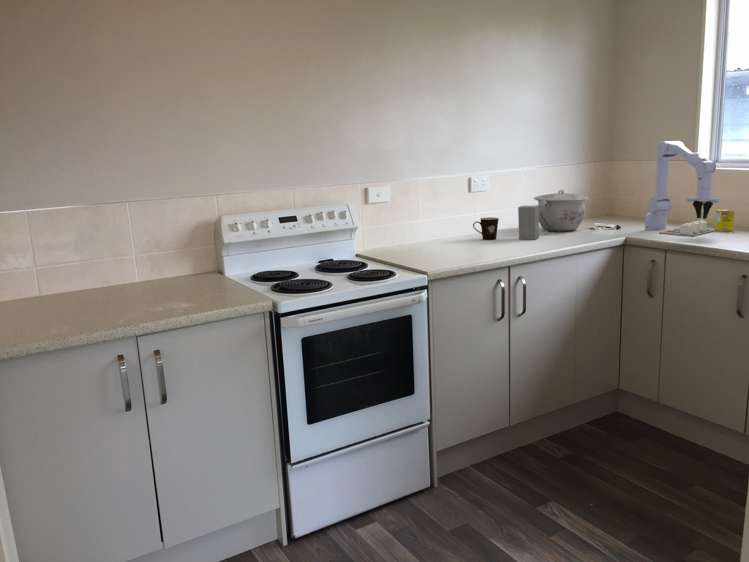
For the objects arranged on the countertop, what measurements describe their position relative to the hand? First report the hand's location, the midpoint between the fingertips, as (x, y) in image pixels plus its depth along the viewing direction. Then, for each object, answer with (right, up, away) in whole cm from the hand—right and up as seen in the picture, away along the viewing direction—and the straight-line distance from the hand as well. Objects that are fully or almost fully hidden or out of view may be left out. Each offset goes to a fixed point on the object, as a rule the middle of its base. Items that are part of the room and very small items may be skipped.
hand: (701, 218), depth 299 cm
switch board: (0, -7, +13) cm, 15 cm away
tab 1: (-4, -7, +7) cm, 10 cm away
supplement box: (+19, -6, +17) cm, 26 cm away
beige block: (+1, -6, +11) cm, 12 cm away
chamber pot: (-52, -2, +43) cm, 68 cm away
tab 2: (+7, -5, +15) cm, 17 cm away
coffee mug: (-94, -8, +21) cm, 97 cm away
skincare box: (-74, -8, +18) cm, 77 cm away
